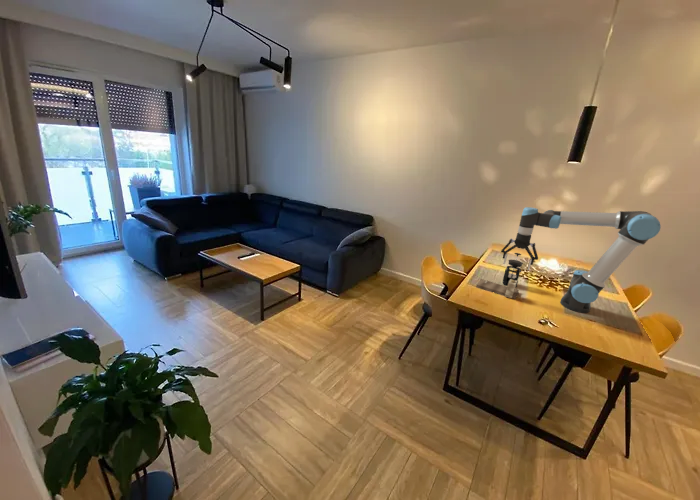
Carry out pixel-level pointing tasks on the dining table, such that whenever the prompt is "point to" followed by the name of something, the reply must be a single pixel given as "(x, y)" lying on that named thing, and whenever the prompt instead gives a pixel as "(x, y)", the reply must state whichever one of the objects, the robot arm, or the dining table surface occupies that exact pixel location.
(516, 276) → the french press
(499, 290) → the board
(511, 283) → the block
